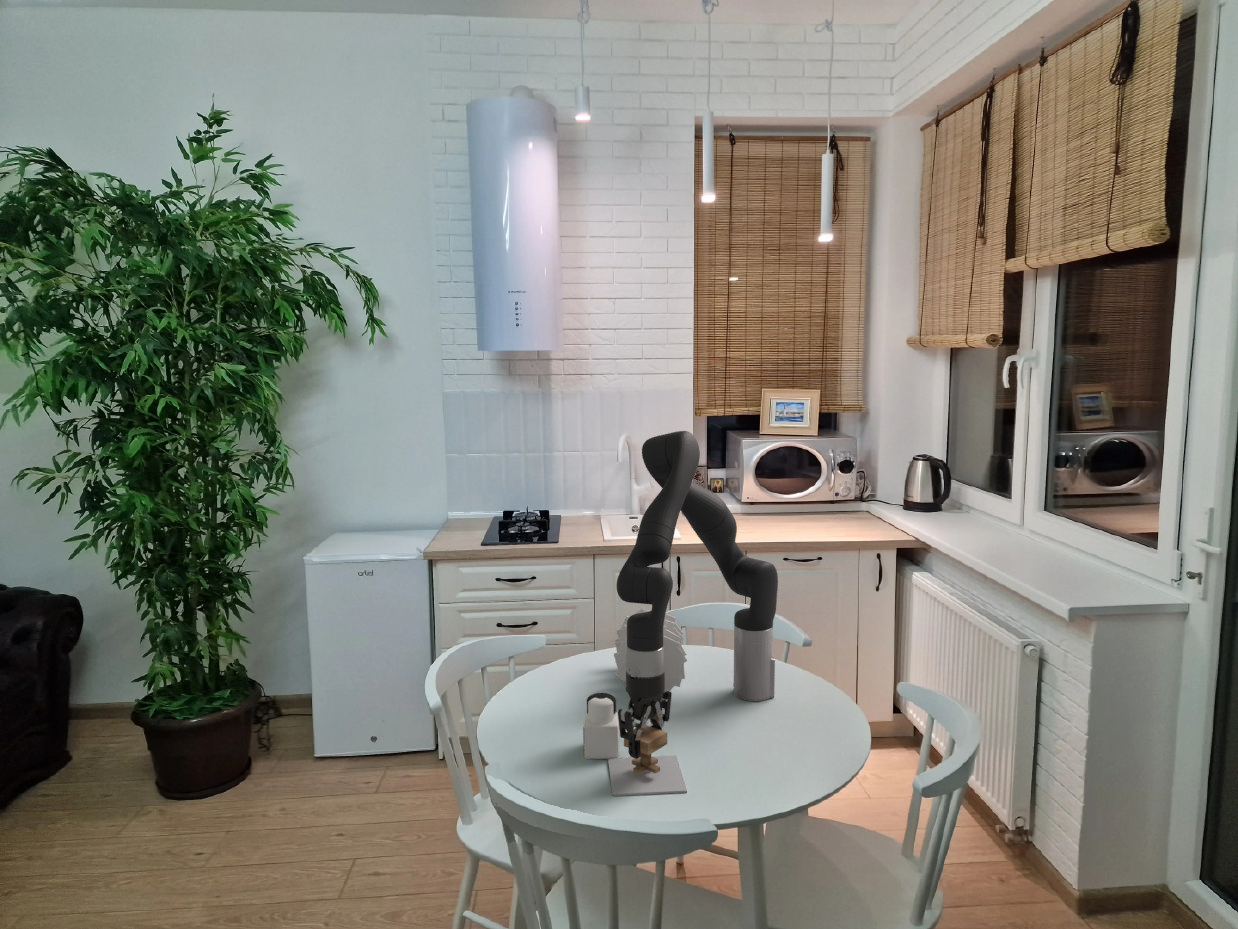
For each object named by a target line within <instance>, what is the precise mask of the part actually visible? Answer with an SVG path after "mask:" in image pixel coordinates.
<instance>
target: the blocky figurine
mask: <svg viewBox="0 0 1238 929" xmlns="http://www.w3.org/2000/svg"><path fill="white" fill-rule="evenodd" d="M582 729H583V730H582V731H583V733H582V734H583V738H582V739H583V740H582V741H583V758H584V759H585V760H608V758H620V757H619V756H620V755H619V754H620V742H621V740H620V738H621V737H620V730H619V721H618V711H617V698H616V697H615V696H614V695H613V694H611V693H608V692H596V693H593V694H590V695H589V696H588V697H587V698H586V712H585V715H584V722H583V728H582Z"/></svg>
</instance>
